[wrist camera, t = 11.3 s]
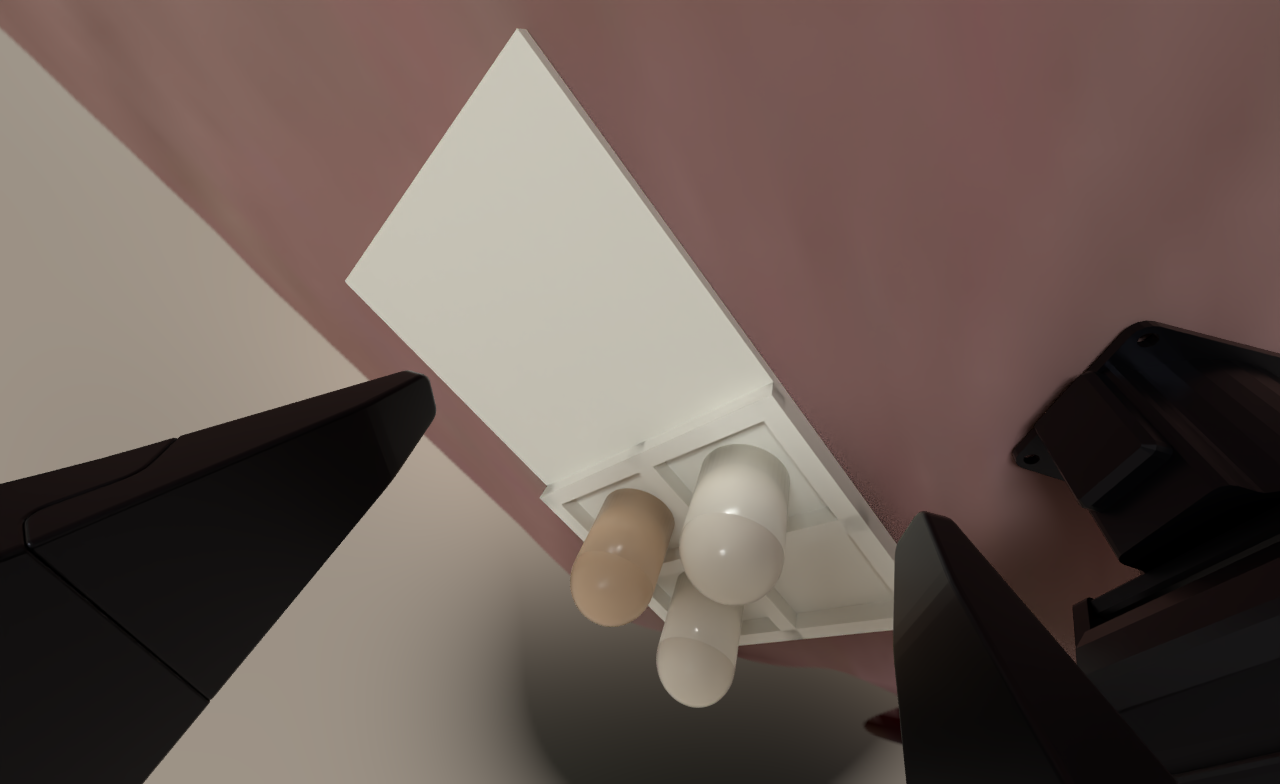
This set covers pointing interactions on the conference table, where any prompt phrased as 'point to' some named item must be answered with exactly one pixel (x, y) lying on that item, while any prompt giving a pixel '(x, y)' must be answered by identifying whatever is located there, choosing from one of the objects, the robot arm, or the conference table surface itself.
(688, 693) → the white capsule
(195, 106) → the conference table surface
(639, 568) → the brown egg
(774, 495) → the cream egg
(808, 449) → the egg carton
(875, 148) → the conference table surface
